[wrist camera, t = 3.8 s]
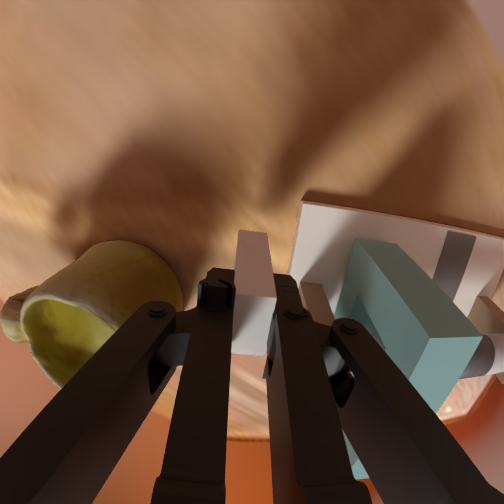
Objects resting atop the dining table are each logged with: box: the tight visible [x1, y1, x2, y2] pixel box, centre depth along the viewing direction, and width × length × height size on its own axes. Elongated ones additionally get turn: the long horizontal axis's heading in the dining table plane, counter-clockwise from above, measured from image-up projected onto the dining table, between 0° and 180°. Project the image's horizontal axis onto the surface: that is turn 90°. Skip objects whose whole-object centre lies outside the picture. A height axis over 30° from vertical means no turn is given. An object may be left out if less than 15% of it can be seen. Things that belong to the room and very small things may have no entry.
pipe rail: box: [287, 200, 504, 384], centre depth 19 cm, size 19×14×8 cm
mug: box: [0, 240, 184, 389], centre depth 19 cm, size 12×10×10 cm
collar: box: [334, 238, 483, 479], centre depth 17 cm, size 3×11×10 cm, turn 173°
